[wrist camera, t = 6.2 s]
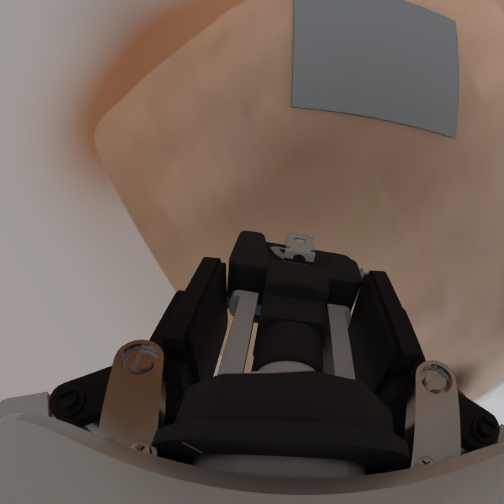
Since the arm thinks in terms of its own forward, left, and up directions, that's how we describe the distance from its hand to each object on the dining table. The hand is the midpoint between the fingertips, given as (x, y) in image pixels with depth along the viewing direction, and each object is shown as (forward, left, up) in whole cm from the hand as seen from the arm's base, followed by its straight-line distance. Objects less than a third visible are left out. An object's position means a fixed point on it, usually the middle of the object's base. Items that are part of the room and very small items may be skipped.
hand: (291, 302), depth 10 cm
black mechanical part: (-1, 0, -3) cm, 3 cm away
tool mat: (-8, -13, -17) cm, 23 cm away
